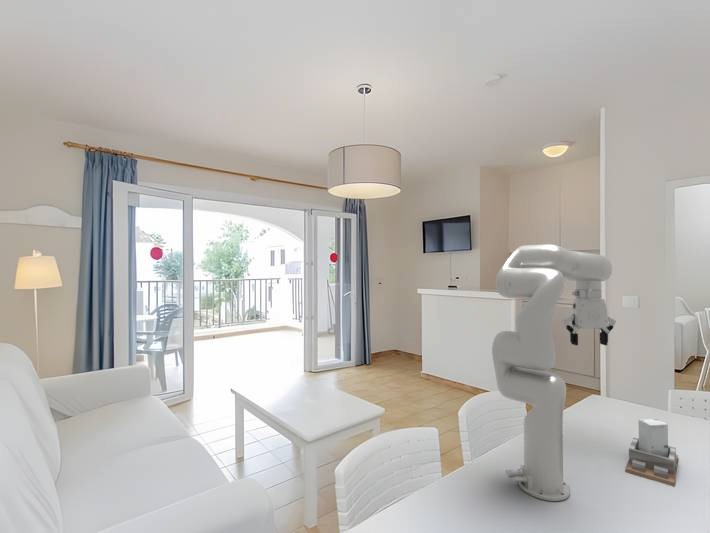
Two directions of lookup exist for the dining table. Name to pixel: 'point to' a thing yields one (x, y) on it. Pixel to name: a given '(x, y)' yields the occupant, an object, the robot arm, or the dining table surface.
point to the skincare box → (653, 437)
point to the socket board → (652, 464)
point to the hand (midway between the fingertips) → (589, 344)
